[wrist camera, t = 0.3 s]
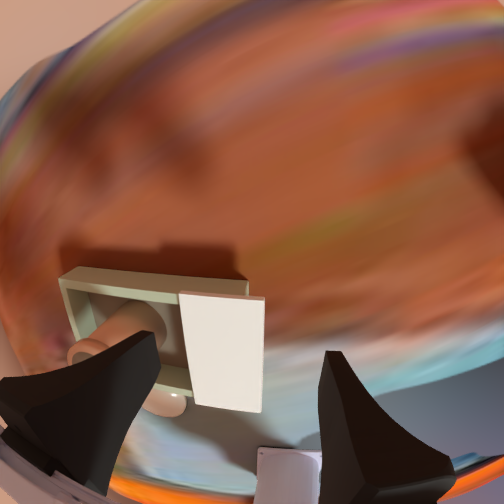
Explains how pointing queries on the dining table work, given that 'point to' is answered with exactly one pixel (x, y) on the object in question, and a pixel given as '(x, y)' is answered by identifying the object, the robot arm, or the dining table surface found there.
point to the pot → (120, 330)
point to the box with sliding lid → (183, 329)
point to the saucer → (165, 403)
